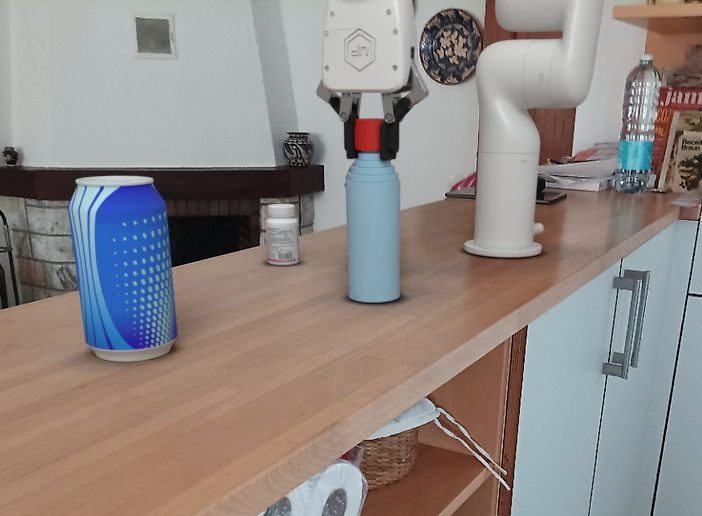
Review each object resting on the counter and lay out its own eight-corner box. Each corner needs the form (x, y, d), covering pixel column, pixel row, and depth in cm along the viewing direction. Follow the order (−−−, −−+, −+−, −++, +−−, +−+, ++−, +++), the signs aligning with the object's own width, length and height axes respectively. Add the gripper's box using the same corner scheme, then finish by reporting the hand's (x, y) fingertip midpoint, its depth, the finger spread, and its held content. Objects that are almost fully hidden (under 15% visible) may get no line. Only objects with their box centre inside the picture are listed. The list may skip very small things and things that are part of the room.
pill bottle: (278, 258, 120) (276, 202, 117) (305, 261, 118) (304, 204, 115) (261, 263, 116) (258, 206, 113) (288, 267, 114) (286, 208, 111)
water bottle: (371, 286, 101) (369, 122, 93) (410, 294, 97) (411, 124, 89) (337, 296, 96) (332, 125, 88) (377, 305, 92) (375, 127, 85)
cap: (349, 150, 89) (348, 119, 88) (364, 147, 92) (364, 118, 91) (380, 151, 87) (380, 120, 86) (395, 148, 91) (395, 118, 90)
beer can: (128, 370, 70) (107, 185, 64) (68, 354, 74) (43, 179, 68) (197, 347, 76) (183, 178, 71) (138, 334, 80) (121, 173, 75)
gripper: (285, -21, 83) (292, 158, 90) (429, -29, 77) (425, 164, 84) (320, -13, 90) (324, 154, 96) (455, -20, 83) (450, 159, 90)
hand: (371, 157), depth 90 cm, fingers closed on cap, 3 cm apart
